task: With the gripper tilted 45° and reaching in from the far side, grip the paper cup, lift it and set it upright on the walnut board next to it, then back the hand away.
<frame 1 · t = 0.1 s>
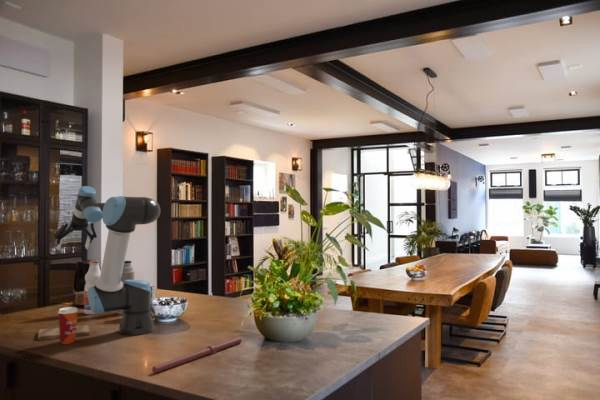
hand: (72, 248, 245), 36 cm above the kitchen island, tool tilted 35°, fingers open, 13 cm apart
candy bar box: (143, 317, 247), on the kitchen island
paper cup: (67, 342, 200), on the kitchen island
rolling pin: (201, 358, 180), on the kitchen island
thermos bottle: (126, 313, 256), on the kitchen island
fruit juice: (93, 313, 257), on the kitchen island
walnut board: (64, 333, 213), on the kitchen island
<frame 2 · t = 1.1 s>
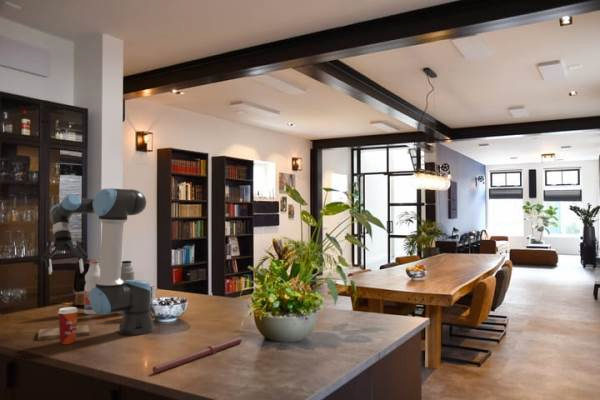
hand: (66, 272, 221), 26 cm above the kitchen island, tool tilted 35°, fingers open, 13 cm apart
nothing on the kitchen island moved.
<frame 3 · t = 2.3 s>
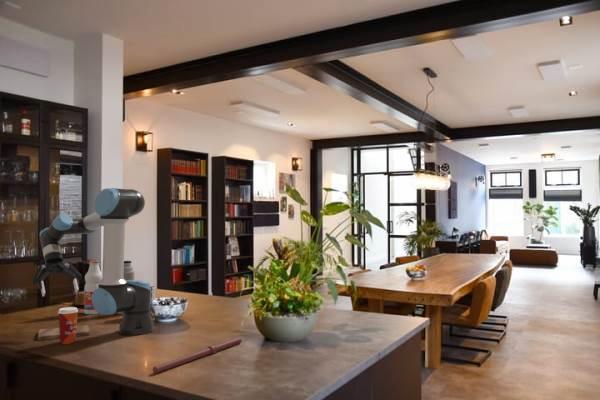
hand: (61, 293, 211), 19 cm above the kitchen island, tool tilted 45°, fingers open, 13 cm apart
nothing on the kitchen island moved.
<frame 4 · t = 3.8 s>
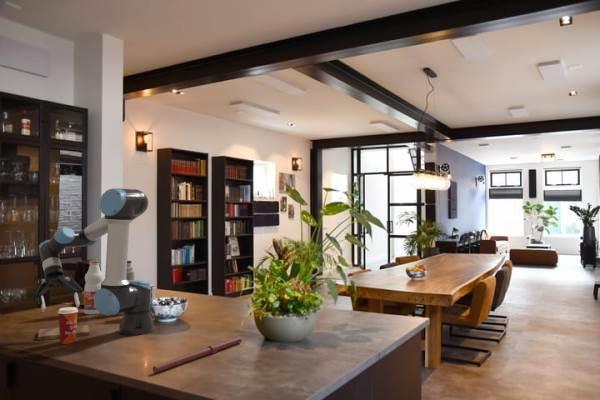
hand: (61, 308, 205), 13 cm above the kitchen island, tool tilted 45°, fingers open, 13 cm apart
nothing on the kitchen island moved.
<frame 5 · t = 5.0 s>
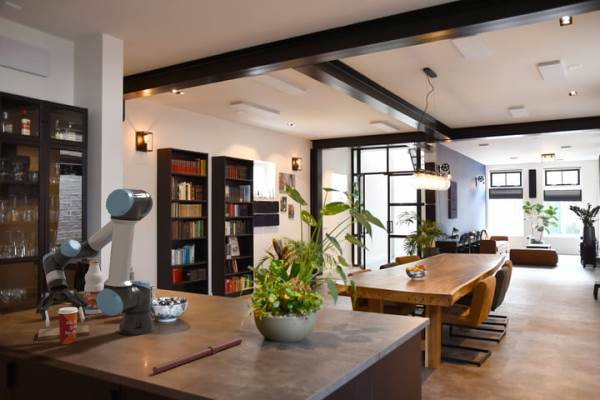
hand: (66, 323, 200), 8 cm above the kitchen island, tool tilted 45°, fingers open, 13 cm apart
nothing on the kitchen island moved.
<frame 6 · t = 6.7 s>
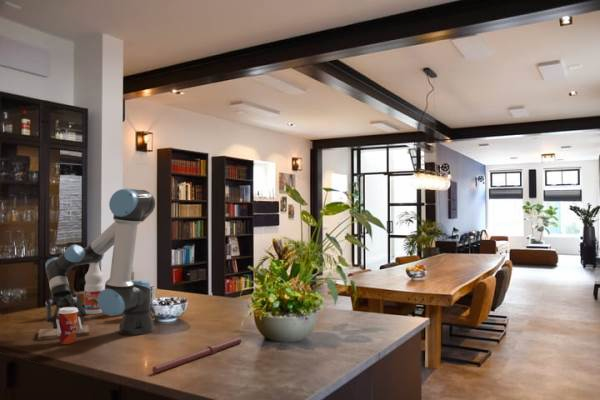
hand: (70, 332, 197), 5 cm above the kitchen island, tool tilted 45°, fingers closed on paper cup, 8 cm apart
paper cup: (67, 342, 200), on the kitchen island, touching gripper
everything else where it was.
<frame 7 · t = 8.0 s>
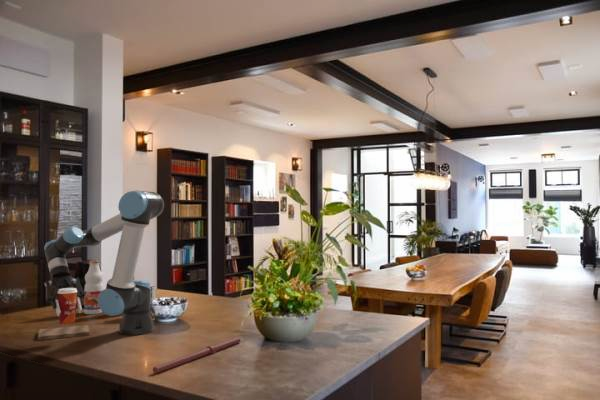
hand: (69, 312, 197), 13 cm above the kitchen island, tool tilted 45°, fingers closed on paper cup, 8 cm apart
paper cup: (67, 323, 200), point 8 cm above the kitchen island, touching gripper
everything else where it was.
when the fingers open (8 cm above the kitchen island, at t = 12.0 s): paper cup drops 1 cm, resting on walnut board.
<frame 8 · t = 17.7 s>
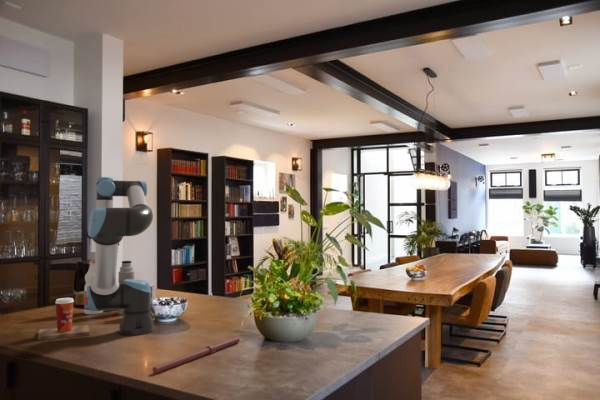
hand: (104, 252, 233), 35 cm above the kitchen island, tool pointing down, fingers open, 13 cm apart
paper cup: (64, 330, 213), point 1 cm above the kitchen island, touching walnut board
everything else where it was.
at the end: paper cup inside the target area on the walnut board (0.2 cm from its centre), point 1.3 cm above the walnut board's base; paper cup tilted 0°; the gripper is holding nothing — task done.
